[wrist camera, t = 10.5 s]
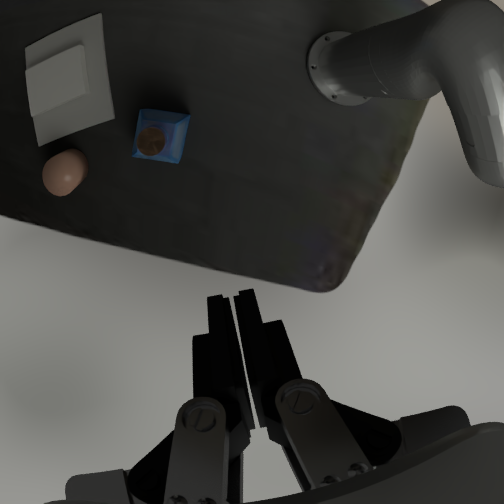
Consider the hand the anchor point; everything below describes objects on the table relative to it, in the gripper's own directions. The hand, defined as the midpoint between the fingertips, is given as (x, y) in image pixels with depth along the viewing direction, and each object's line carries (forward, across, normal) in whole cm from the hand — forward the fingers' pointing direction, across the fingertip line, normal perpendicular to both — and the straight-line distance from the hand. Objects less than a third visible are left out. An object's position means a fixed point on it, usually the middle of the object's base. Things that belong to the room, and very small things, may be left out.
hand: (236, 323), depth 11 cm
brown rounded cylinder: (+35, +22, -4) cm, 42 cm away
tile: (+34, +16, -18) cm, 41 cm away
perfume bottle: (+35, +6, -5) cm, 36 cm away
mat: (+35, +20, -18) cm, 44 cm away
